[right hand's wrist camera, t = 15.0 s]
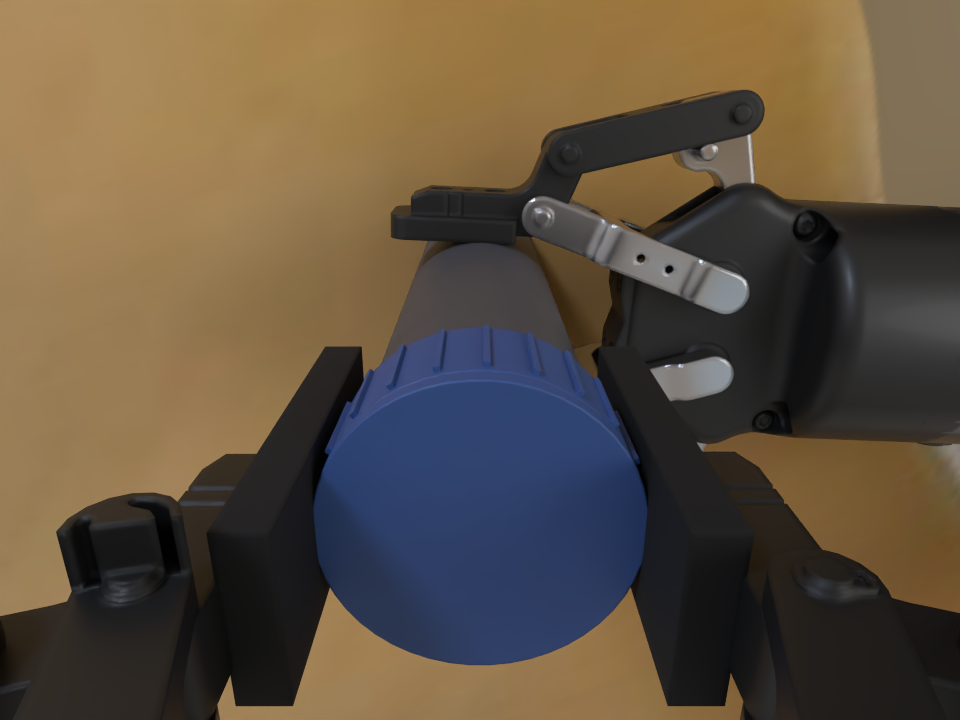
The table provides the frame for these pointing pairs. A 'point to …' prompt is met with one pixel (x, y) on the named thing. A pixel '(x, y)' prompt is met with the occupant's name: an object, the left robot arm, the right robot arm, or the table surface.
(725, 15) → the table surface
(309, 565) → the right robot arm
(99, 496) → the table surface
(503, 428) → the lid
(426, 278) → the dark gray cylinder
